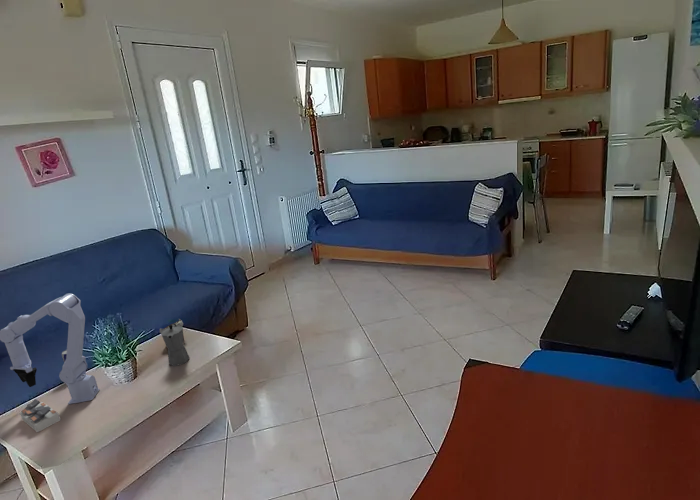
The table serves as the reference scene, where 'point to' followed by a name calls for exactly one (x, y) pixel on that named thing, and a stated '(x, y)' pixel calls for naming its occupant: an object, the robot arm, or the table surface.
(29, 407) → the rocker
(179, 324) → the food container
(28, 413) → the rocker
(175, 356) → the coffeepot
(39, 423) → the switch unit
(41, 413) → the rocker
